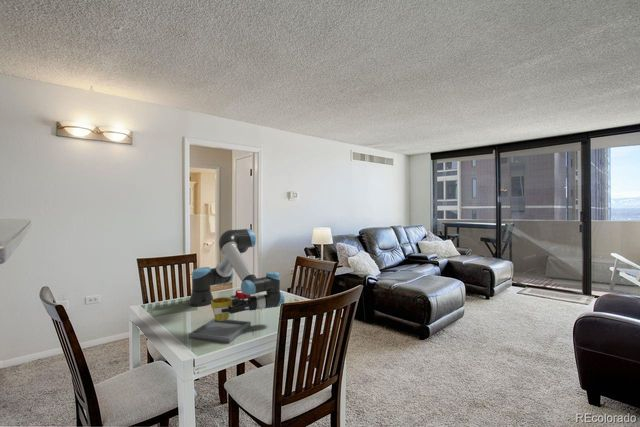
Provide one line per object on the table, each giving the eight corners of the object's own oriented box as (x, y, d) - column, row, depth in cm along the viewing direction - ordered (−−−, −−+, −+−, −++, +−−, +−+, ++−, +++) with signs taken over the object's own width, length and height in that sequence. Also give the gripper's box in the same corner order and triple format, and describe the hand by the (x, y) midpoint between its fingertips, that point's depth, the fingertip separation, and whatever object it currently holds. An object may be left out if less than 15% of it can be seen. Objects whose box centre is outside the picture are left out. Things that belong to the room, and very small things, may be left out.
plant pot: (226, 323, 157) (225, 303, 157) (207, 321, 159) (207, 302, 159) (235, 316, 167) (235, 297, 167) (217, 314, 170) (217, 296, 169)
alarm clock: (247, 288, 236) (252, 289, 223) (248, 297, 235) (252, 298, 222) (233, 290, 232) (237, 290, 218) (233, 299, 231) (237, 299, 217)
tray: (214, 322, 177) (214, 317, 177) (250, 326, 172) (250, 321, 172) (189, 338, 156) (189, 333, 156) (229, 343, 150) (229, 338, 150)
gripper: (261, 316, 161) (216, 322, 151) (251, 303, 181) (210, 309, 172) (261, 301, 161) (216, 307, 151) (251, 290, 181) (210, 295, 172)
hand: (213, 308), depth 161 cm, fingers closed on plant pot, 10 cm apart
